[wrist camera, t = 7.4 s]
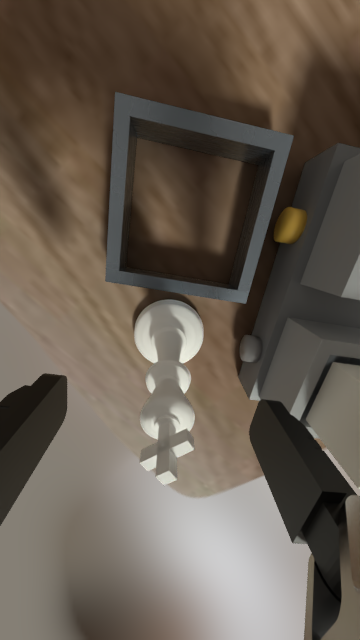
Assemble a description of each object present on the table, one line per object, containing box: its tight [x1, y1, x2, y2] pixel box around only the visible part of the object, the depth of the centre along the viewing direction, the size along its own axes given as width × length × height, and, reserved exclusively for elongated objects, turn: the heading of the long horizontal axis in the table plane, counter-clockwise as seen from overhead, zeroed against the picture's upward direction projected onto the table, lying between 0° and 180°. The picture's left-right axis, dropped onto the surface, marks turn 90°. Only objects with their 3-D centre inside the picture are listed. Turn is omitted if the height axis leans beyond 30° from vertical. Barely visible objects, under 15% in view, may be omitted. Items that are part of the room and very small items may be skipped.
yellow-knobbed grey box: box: [238, 143, 360, 438], centre depth 12 cm, size 14×8×6 cm, turn 170°
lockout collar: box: [105, 92, 294, 304], centre depth 12 cm, size 8×8×2 cm
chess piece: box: [134, 299, 203, 485], centre depth 10 cm, size 5×5×10 cm
